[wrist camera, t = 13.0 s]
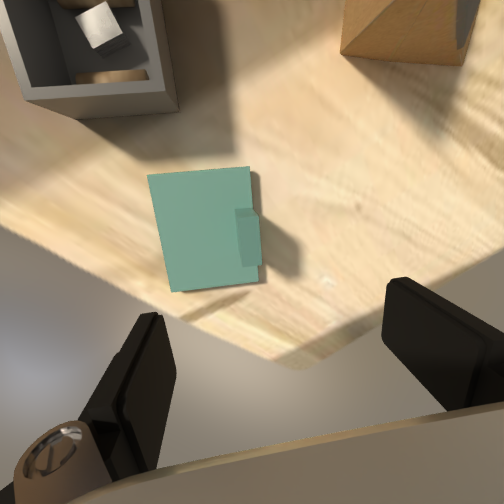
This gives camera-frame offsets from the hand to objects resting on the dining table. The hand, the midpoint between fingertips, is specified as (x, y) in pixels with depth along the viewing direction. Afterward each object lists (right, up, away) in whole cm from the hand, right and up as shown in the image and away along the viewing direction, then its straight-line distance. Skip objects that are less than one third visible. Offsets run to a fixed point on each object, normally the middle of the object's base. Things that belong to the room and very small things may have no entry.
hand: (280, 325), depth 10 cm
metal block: (-15, +23, +13) cm, 30 cm away
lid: (-7, +6, +20) cm, 21 cm away
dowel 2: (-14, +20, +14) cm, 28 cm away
